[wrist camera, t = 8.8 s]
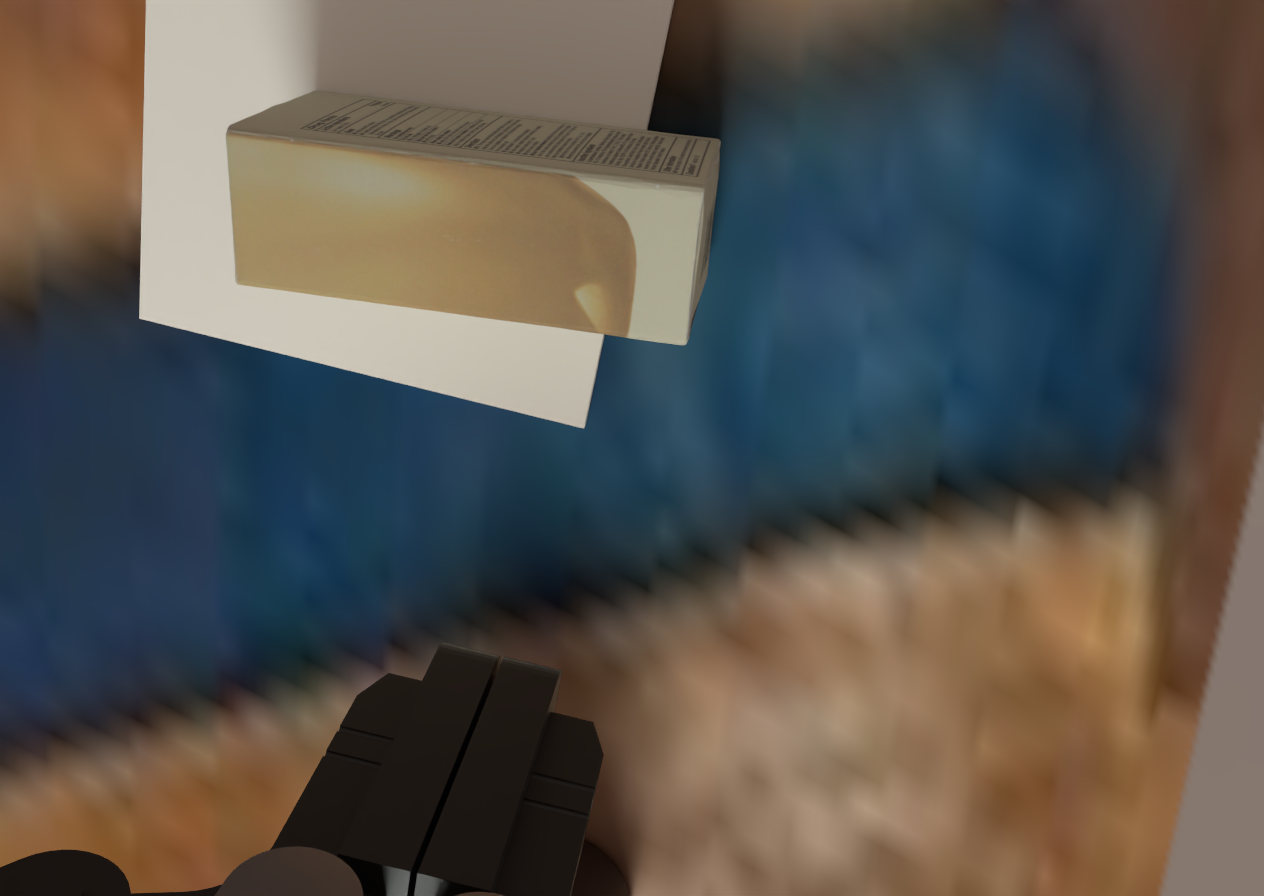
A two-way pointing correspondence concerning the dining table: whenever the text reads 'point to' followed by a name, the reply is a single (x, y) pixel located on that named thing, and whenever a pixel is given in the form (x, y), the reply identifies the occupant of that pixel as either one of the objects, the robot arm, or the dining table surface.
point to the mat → (391, 69)
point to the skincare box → (475, 213)
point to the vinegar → (597, 875)
